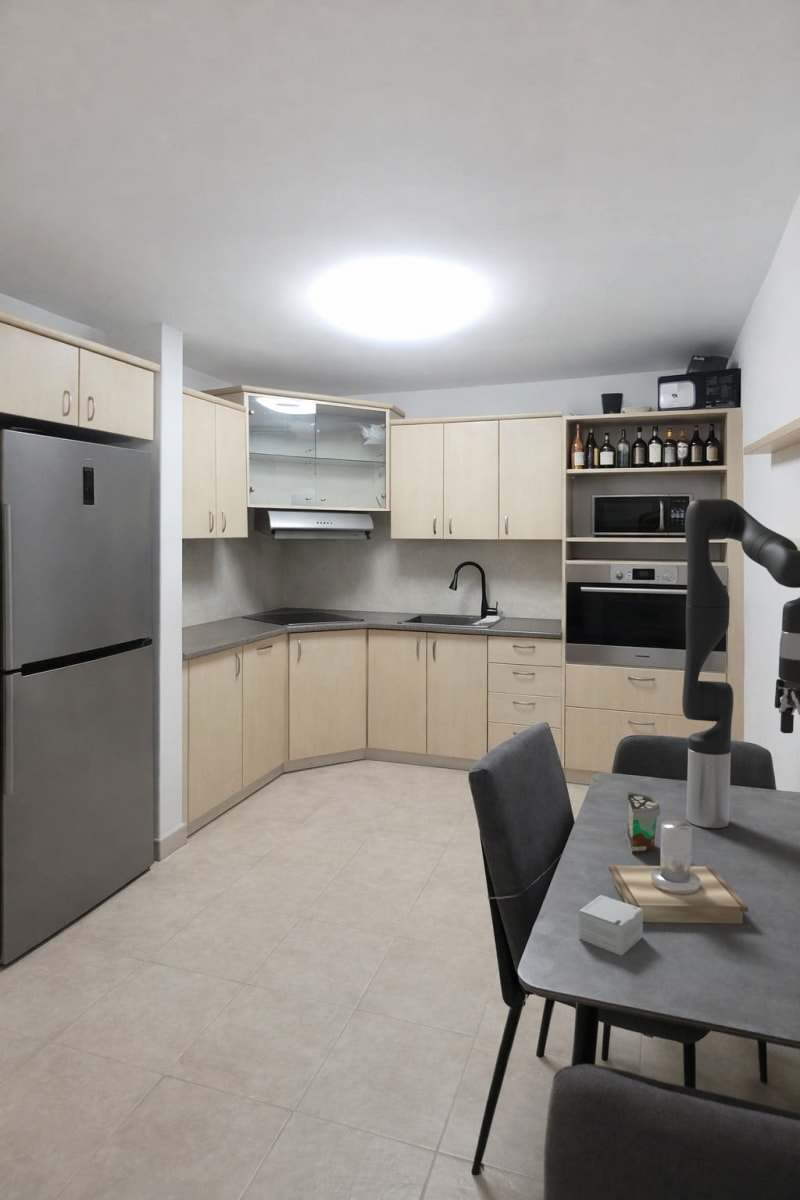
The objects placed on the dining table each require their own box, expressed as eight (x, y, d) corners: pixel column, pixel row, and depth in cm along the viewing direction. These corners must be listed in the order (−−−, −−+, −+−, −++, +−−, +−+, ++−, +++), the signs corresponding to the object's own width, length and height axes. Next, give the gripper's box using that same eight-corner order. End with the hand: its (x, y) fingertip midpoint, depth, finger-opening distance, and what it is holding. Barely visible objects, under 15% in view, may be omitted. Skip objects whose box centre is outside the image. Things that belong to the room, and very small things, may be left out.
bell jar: (645, 874, 139) (646, 817, 138) (690, 874, 139) (691, 817, 138) (659, 895, 131) (660, 834, 130) (707, 895, 130) (708, 834, 130)
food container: (663, 859, 153) (664, 811, 152) (632, 856, 154) (633, 809, 154) (655, 836, 165) (656, 792, 164) (626, 834, 166) (627, 791, 166)
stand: (608, 880, 143) (608, 864, 143) (710, 881, 143) (711, 866, 142) (631, 922, 127) (632, 905, 127) (747, 924, 126) (748, 907, 126)
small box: (600, 922, 128) (600, 893, 127) (643, 938, 122) (644, 908, 122) (577, 939, 122) (577, 909, 121) (621, 957, 116) (622, 926, 116)
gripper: (763, 649, 148) (760, 729, 149) (800, 661, 134) (797, 749, 135) (801, 649, 148) (798, 729, 149) (842, 661, 134) (838, 749, 135)
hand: (797, 738), depth 142 cm, fingers open, 8 cm apart
